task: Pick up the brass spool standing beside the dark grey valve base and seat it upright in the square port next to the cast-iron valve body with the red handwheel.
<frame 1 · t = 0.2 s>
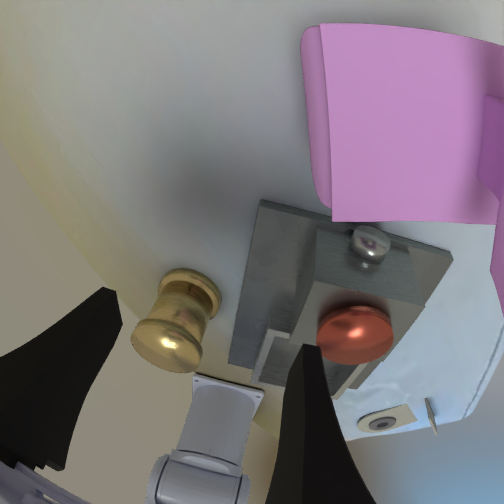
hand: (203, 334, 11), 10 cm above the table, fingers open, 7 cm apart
toy chair: (391, 94, 14), on the table
valve base: (323, 317, 24), on the table
bracket: (399, 412, 33), on the table
brass spool: (191, 292, 25), on the table
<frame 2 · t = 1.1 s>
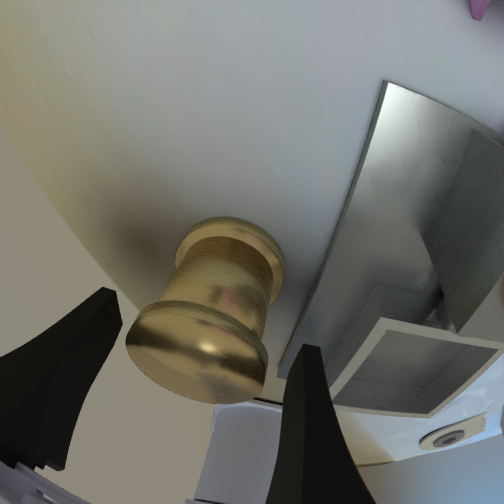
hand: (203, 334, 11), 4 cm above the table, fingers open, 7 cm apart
valve base: (438, 298, 14), on the table
bracket: (468, 424, 23), on the table
brass spool: (231, 263, 15), on the table
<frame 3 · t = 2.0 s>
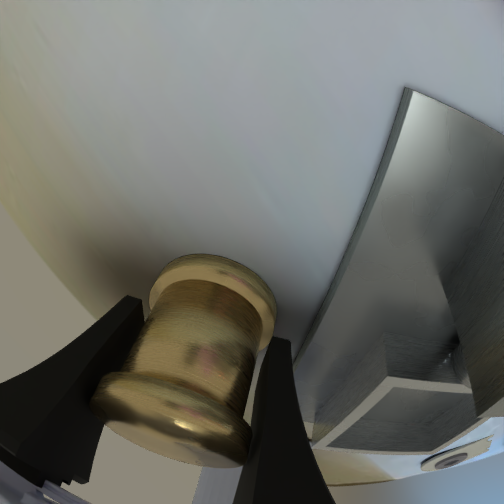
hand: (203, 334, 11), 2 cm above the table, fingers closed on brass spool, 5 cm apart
valve base: (452, 339, 12), on the table
bracket: (471, 445, 21), on the table
brass spool: (214, 304, 13), on the table, touching gripper
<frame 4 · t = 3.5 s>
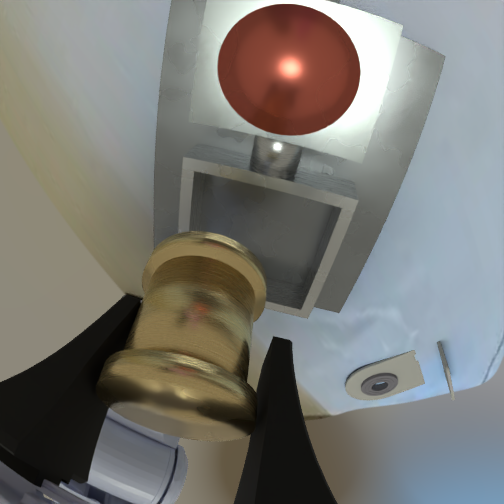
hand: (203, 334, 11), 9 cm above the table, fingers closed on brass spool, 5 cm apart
valve base: (275, 166, 16), on the table
bracket: (402, 369, 26), on the table
brass spool: (206, 280, 13), point 6 cm above the table, tilted 7°, touching gripper
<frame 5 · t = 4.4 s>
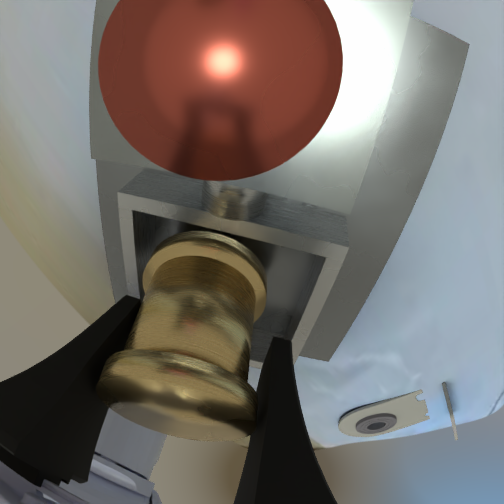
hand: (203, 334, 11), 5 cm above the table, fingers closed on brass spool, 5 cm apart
valve base: (242, 194, 13), on the table
bracket: (402, 407, 22), on the table
brass spool: (206, 280, 13), point 2 cm above the table, tilted 7°, touching gripper
when the fingers open (4 cm above the table, at t = 5.0 s): brass spool stays where it is, resting on valve base.
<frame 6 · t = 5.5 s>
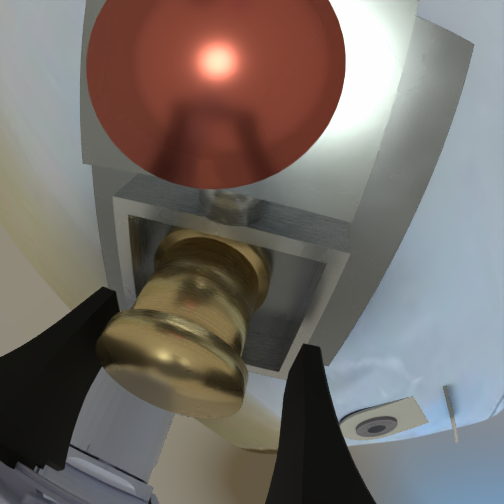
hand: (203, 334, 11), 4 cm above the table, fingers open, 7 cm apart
valve base: (240, 198, 13), on the table
bracket: (402, 410, 22), on the table
brass spool: (214, 265, 14), point 1 cm above the table, touching valve base
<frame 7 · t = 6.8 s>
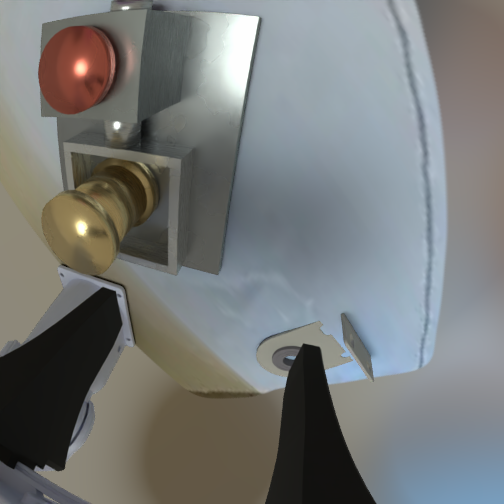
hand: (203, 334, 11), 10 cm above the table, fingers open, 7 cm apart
valve base: (138, 142, 18), on the table
bracket: (316, 345, 28), on the table
brass spool: (126, 188, 20), point 1 cm above the table, touching valve base
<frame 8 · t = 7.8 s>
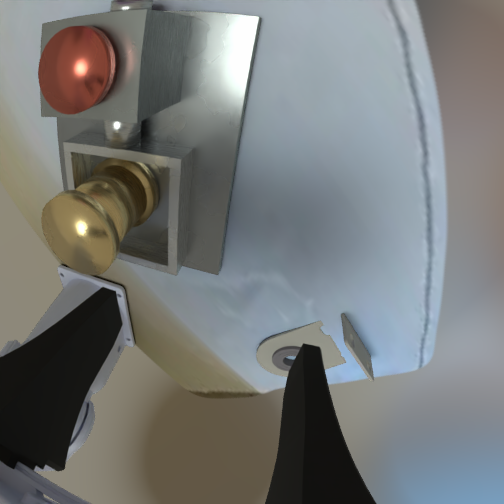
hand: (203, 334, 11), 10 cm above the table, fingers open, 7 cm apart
valve base: (138, 142, 18), on the table
bracket: (316, 345, 28), on the table
brass spool: (126, 188, 20), point 1 cm above the table, touching valve base
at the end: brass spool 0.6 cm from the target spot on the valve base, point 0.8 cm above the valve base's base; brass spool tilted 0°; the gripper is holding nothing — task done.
